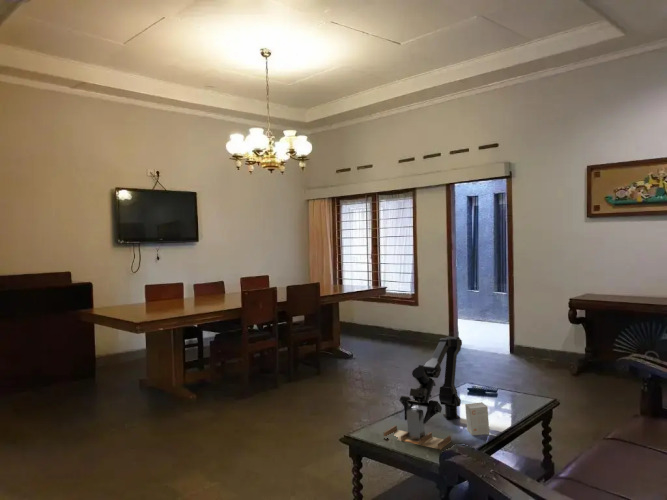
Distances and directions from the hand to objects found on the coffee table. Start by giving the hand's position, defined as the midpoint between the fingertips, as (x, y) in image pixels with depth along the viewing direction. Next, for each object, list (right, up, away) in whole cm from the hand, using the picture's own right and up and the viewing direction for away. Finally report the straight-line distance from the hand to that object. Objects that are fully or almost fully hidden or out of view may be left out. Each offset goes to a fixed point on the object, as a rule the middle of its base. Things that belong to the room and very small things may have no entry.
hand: (414, 421), depth 223 cm
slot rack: (+1, -9, +1) cm, 9 cm away
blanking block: (+1, -8, +1) cm, 8 cm away
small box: (+29, -7, +4) cm, 30 cm away
